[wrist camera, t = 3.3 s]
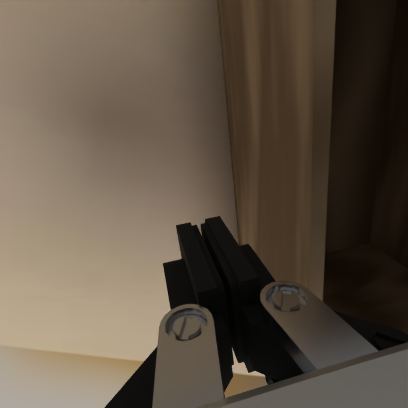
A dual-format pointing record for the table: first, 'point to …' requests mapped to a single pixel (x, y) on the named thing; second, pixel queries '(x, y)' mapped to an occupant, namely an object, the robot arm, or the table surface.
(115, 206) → the table surface
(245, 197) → the wooden box
